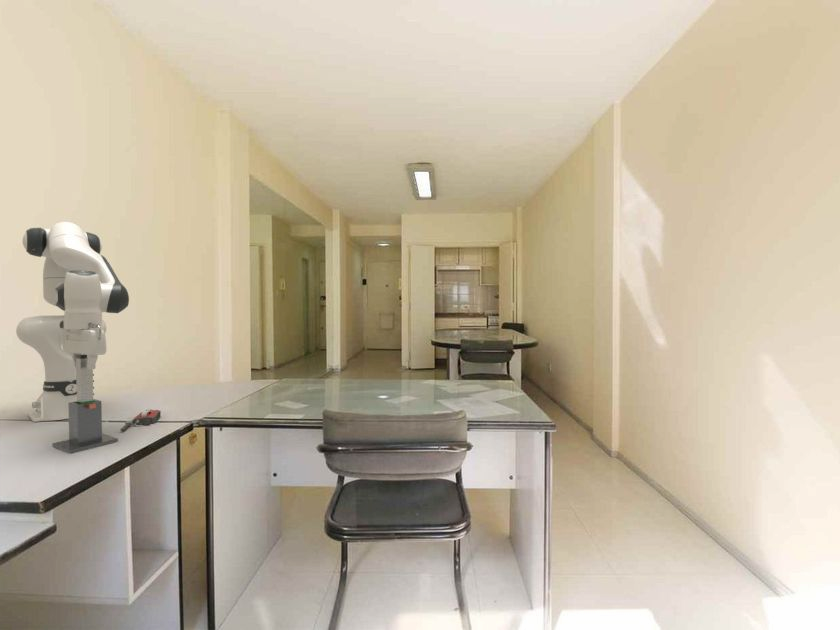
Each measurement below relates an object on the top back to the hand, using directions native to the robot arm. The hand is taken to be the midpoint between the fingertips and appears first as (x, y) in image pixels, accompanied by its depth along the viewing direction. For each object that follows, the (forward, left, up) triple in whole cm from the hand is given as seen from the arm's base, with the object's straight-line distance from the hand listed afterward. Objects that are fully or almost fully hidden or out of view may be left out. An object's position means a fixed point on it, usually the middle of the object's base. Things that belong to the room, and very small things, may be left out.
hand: (84, 368), depth 122 cm
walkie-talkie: (-8, +20, -24) cm, 32 cm away
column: (0, 0, -16) cm, 16 cm away
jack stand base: (0, 0, -23) cm, 23 cm away
